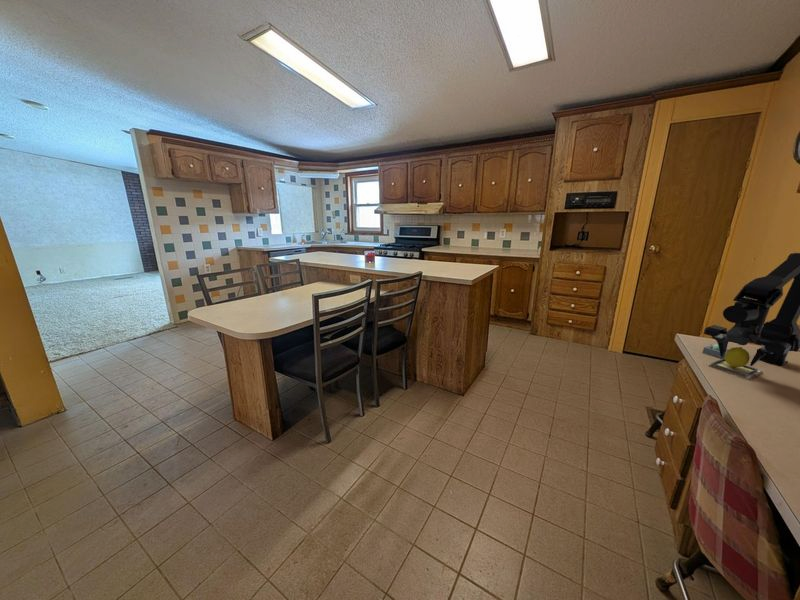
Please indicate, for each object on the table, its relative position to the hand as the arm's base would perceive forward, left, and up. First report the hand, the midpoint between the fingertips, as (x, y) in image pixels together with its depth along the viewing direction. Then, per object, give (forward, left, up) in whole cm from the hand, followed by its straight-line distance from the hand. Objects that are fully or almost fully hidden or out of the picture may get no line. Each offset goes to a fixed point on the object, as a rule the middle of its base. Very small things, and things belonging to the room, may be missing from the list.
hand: (736, 360), depth 101 cm
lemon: (0, 0, -3) cm, 3 cm away
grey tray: (-1, 0, -4) cm, 4 cm away
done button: (-11, -8, -3) cm, 13 cm away
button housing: (-10, -8, -4) cm, 14 cm away
